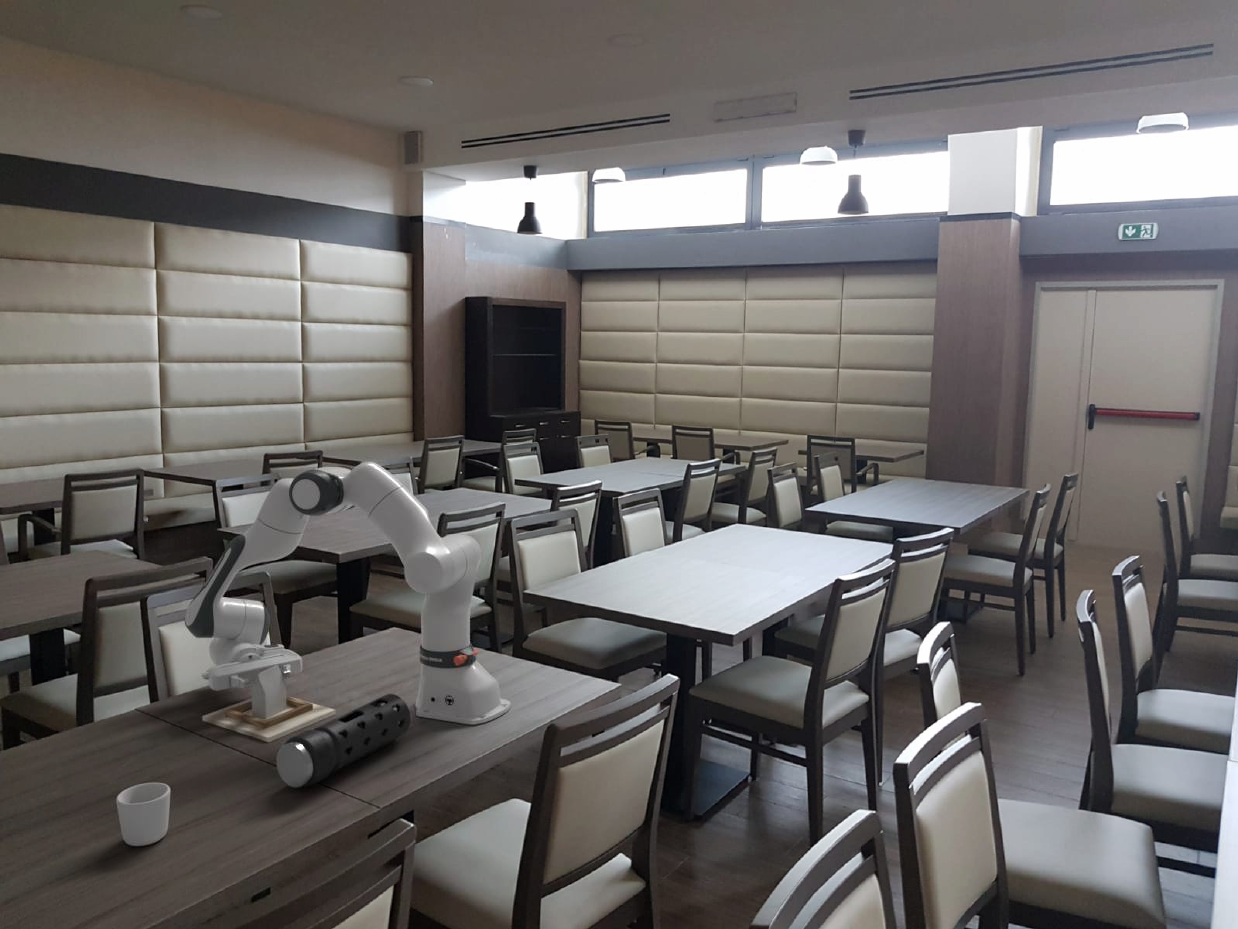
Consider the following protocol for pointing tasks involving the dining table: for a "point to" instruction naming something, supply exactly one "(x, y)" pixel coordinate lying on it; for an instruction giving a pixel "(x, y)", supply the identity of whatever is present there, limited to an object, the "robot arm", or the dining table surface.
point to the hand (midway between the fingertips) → (267, 680)
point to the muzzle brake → (341, 741)
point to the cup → (144, 813)
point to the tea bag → (268, 693)
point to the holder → (269, 719)
